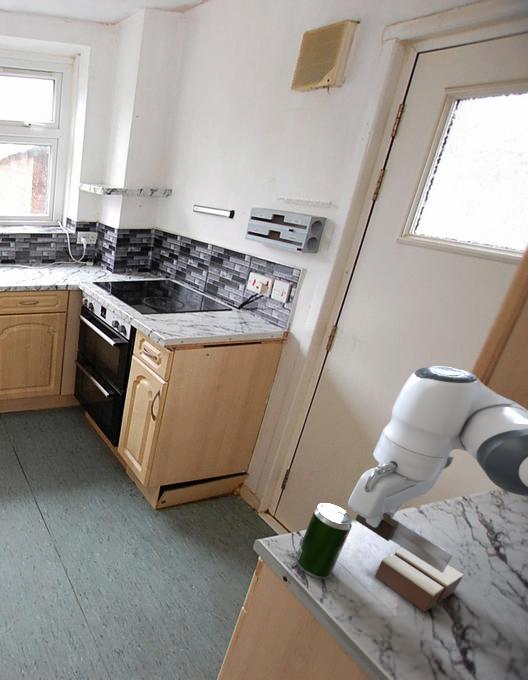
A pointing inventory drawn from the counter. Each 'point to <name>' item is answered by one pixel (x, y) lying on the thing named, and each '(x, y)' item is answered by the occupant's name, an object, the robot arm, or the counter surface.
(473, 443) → the robot arm
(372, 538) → the counter surface
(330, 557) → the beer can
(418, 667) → the counter surface
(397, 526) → the knife
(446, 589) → the cake
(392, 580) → the cake slice
